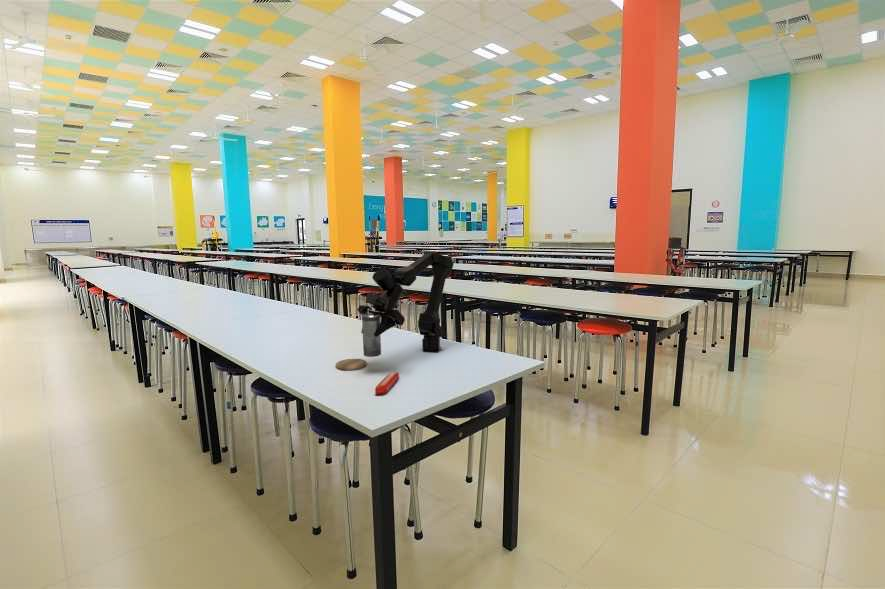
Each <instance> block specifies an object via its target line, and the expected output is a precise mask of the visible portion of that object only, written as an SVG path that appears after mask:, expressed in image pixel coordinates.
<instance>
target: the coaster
mask: <svg viewBox="0 0 885 589" xmlns="http://www.w3.org/2000/svg"><path fill="white" fill-rule="evenodd" d="M367 366H368V362H367V360H365V359H363V358H348V359H347V358H346V359H342V360H340V361H337V362H336V363H335V369H337V370H339V371H344V372H346V371H347V372H348V371H349V372H350V371H359V370H363V369H364V368H366V367H367Z"/></svg>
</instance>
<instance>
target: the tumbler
mask: <svg viewBox="0 0 885 589" xmlns="http://www.w3.org/2000/svg"><path fill="white" fill-rule="evenodd" d="M361 321H362V322H361V324H362V328H361V330H362V329H363V334H362V345H363V347H362V348H363V356H364V357H367V358H374V357H379V356H381V355H382V344H381V343H382V339H381V334H380V335H379V336H377V337H375V336H374V334H375V332H376V330H377V328H378V326H379V324H380V323H381V317H380V314H378V313H366V314H363V315H361Z"/></svg>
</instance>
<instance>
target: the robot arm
mask: <svg viewBox="0 0 885 589" xmlns="http://www.w3.org/2000/svg"><path fill="white" fill-rule="evenodd" d="M430 266H431V272H432V275H433V278H432V281H431V282H432V283H431V287H430V291H429V296H428V300H427V305H426V309H425V310H424V312H420V314H419V317H418V320H417V328H418V331H419V334H420V336H423V338H422V342H421V343H422V344H421V345H422V348H421V349H422V352H423V353H424V352H428V353H439V352H440V350H441V348H442V347H441V338H442V337H443V336H444V334H445V330H444V329H443V327H442V326H441V325H440V324H441V319H440V315H439V310H440V306H441V301H442V296H443V292H444V287H445V283H446V279H448V277H449V276H450V275H451V274H452V272H453V271H452V270H453V267H454V261H453V258H452V257H451V256H446V255H443V254H441V253H438V252H436V251H426V252H424V254H423V255H421V256H420V257H418V258H417V259H416V260H415V261H413V262H412V263H411V264H409V265H407V266H403V267H400V268H398V269H397V268H396V270H394V271H393V273H392V271H391V270H390V268H389V267H388V266H384V265H383V266H382V267H381V268H379V269H378V270H377V271H375V272H374V273H373V274H372V279H373V281H374V282H375V284H376V285H377V286H378V287H379V288H380V289H381V291H385V292H384V293H379V294H375V293H367V294H366V298H365V302H364V303H366V305H364V304H361V305H359V306H358V308H357V310H356V311H357V312H358V313H359V314H360V315H361V316H362V315H363V314H366V313H378V314H380V324H379V326H378V328H377V330H376V332H375V334H374V336H375V337H377V336H379V335H380V336H381V335H382V334H383V333H385V332H386V331H389V329H392V328H394V327H397V326H403V325H404V324H405V322H406V321H405V320H406V319H405V318H406V317H405V316H404V315H403V314H402V313H401V312H400V310H399V309H397V308H398V307H399V306H398V303H399V301H400V299H401V297H407V295H408V294H407V290H406V288H403V287H410V286H411V285H413V284H414V282H415V281H416V280H417V276H418V275H419V274H421V273H422V272H423V271H424V270H426V269H427V268H429V267H430ZM367 304H370V305H371V306H369V305H367ZM361 334H362V335H363V329H362V328H361Z"/></svg>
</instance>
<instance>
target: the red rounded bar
mask: <svg viewBox="0 0 885 589" xmlns="http://www.w3.org/2000/svg"><path fill="white" fill-rule="evenodd" d="M399 378H400V373H399V372H397V371H394V372H390V373H388V374H386V376H385V377H384V378H382V380H381V381H380V382H378V384H377V385H376V386H375V388H374V389H375V390H374V394H376V395H382V394H386V393H387V392H388V391H389V390H390V389H391V388H392V387H393V386H394V384H396V382H397V381H398V380H399Z"/></svg>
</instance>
